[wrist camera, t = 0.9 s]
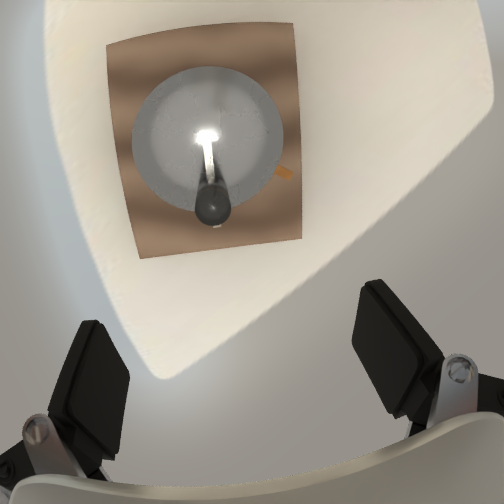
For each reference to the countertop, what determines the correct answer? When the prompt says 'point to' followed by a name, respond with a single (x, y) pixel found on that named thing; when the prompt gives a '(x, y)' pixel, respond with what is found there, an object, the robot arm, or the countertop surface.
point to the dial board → (200, 55)
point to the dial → (207, 141)
